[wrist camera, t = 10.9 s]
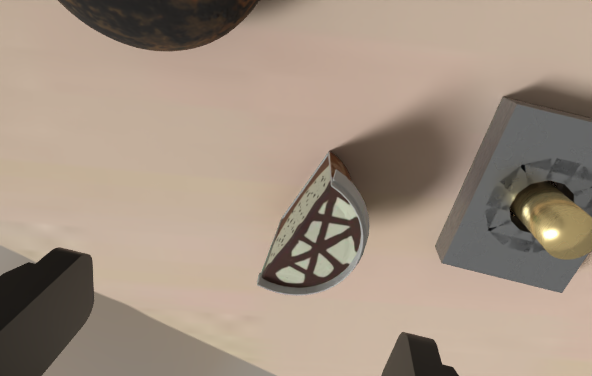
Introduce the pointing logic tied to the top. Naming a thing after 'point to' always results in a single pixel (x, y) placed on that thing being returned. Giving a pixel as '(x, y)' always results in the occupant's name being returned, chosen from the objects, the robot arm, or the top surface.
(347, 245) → the food container
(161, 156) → the top surface
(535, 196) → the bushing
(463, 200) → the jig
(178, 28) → the glass bottle
